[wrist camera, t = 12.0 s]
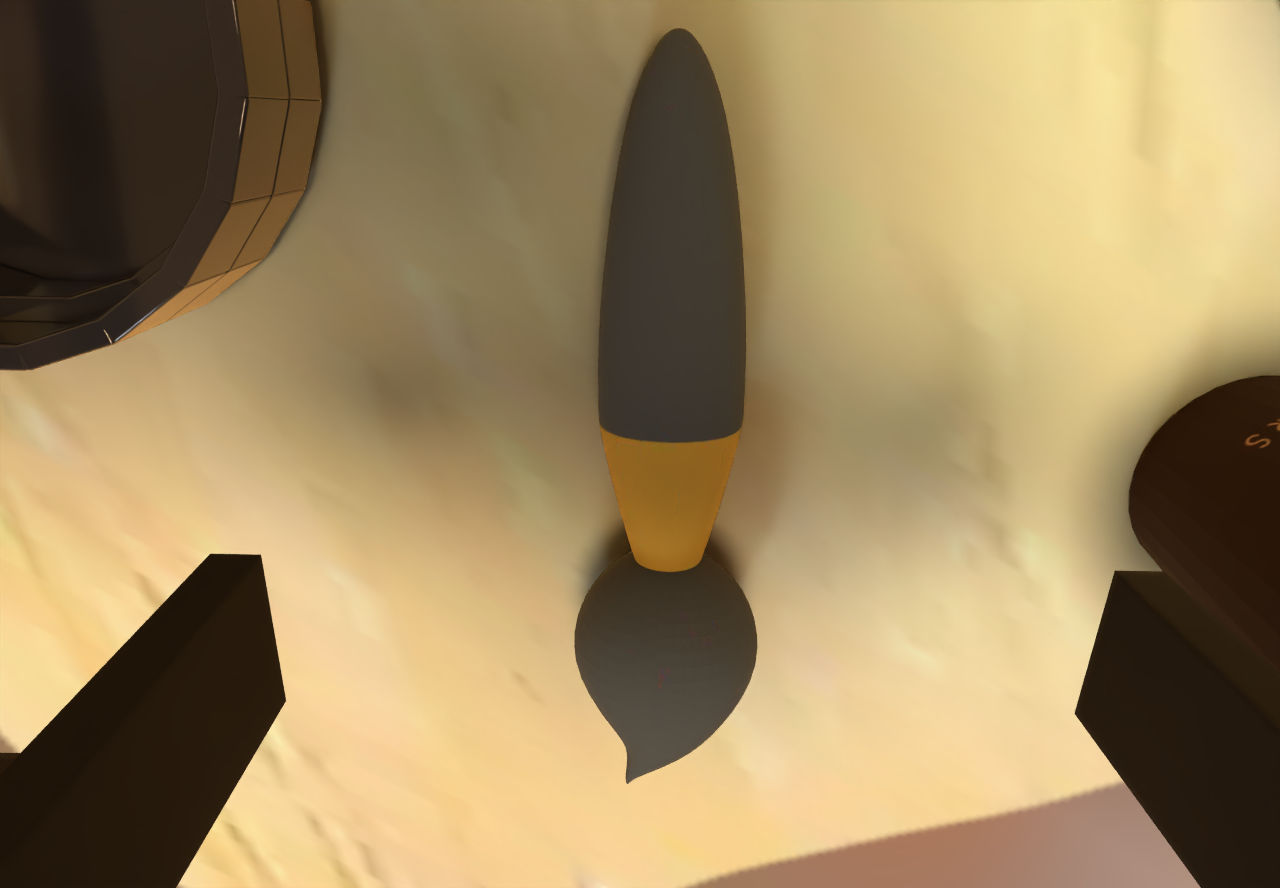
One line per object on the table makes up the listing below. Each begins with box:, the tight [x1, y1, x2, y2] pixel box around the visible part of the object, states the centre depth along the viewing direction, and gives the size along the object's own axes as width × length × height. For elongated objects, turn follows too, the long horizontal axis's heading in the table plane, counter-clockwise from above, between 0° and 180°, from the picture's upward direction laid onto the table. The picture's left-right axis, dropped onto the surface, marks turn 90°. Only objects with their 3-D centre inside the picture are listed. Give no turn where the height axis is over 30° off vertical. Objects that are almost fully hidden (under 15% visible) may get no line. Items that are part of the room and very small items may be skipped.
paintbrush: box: [574, 28, 757, 784], centre depth 21 cm, size 20×5×5 cm, turn 4°
